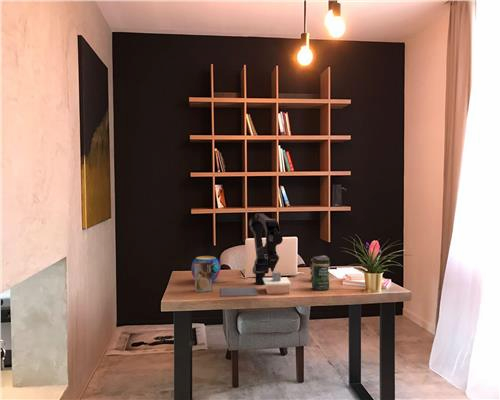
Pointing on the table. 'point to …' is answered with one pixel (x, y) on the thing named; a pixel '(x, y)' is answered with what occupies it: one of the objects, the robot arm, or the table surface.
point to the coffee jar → (320, 273)
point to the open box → (277, 289)
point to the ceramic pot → (214, 265)
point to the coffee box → (203, 276)
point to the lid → (276, 280)
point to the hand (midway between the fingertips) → (270, 269)
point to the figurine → (313, 269)
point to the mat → (239, 291)
